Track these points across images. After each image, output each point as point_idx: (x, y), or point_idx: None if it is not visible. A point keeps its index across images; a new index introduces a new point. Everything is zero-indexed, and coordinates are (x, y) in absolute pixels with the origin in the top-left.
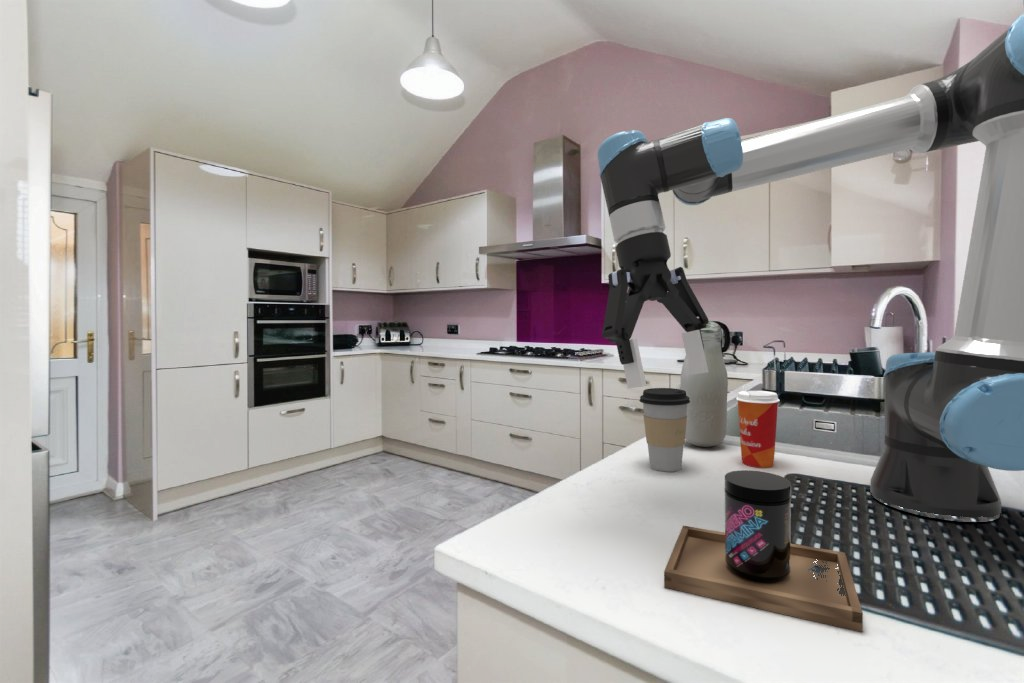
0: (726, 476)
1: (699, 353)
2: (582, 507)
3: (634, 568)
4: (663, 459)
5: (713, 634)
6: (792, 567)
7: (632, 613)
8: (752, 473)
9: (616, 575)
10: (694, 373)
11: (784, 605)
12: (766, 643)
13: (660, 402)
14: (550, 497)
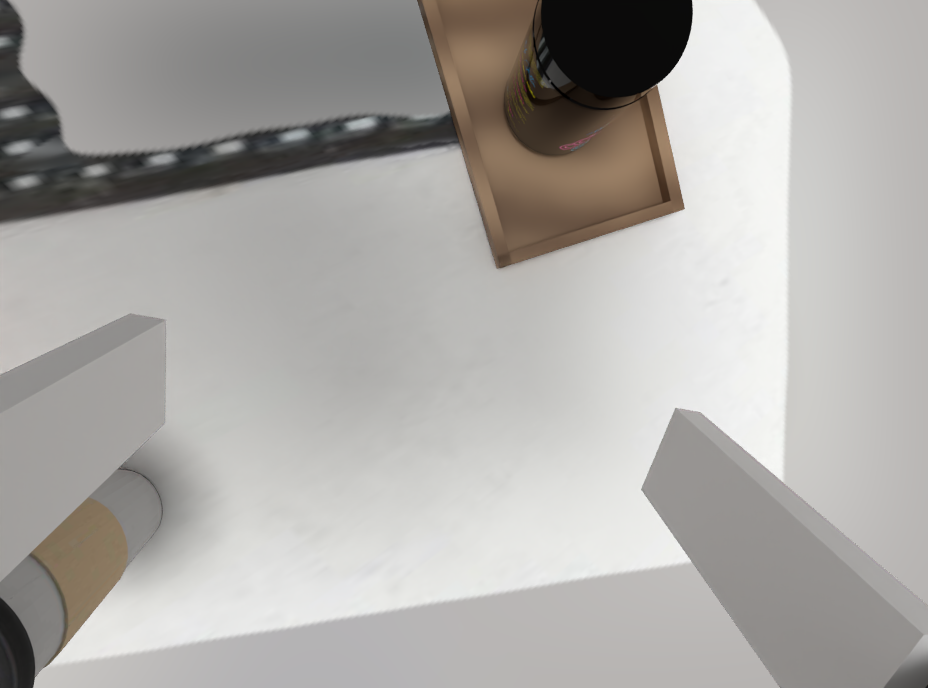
0: (640, 88)
1: (72, 389)
2: (496, 491)
3: (647, 278)
4: (140, 507)
5: (734, 106)
6: (503, 58)
7: (755, 214)
8: (572, 41)
9: (683, 287)
10: (162, 397)
11: None
12: (711, 42)
13: (8, 634)
14: (496, 571)
